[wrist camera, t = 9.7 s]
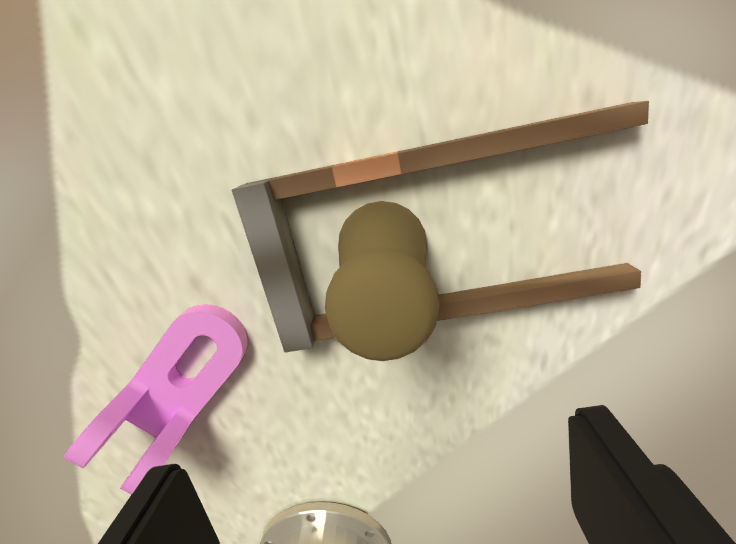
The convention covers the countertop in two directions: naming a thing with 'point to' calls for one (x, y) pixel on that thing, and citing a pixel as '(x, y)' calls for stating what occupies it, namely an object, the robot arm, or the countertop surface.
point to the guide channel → (264, 196)
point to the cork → (382, 284)
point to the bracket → (167, 390)
